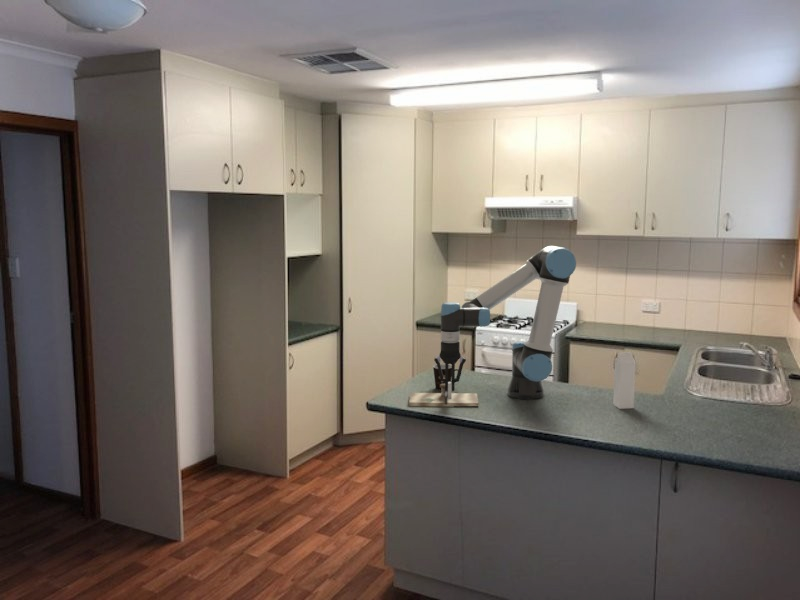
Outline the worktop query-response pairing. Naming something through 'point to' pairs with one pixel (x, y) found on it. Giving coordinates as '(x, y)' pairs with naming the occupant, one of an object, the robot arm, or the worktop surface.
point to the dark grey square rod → (444, 392)
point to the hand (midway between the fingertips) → (449, 398)
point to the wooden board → (443, 399)
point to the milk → (624, 381)
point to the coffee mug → (437, 376)
